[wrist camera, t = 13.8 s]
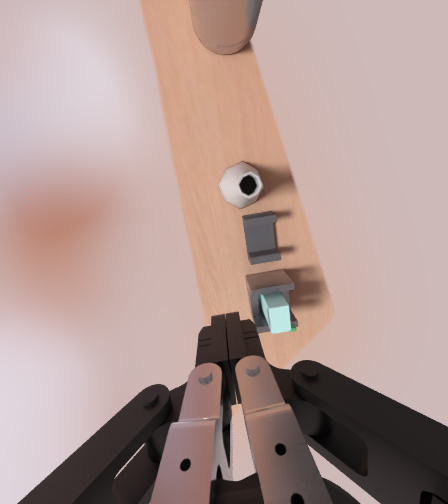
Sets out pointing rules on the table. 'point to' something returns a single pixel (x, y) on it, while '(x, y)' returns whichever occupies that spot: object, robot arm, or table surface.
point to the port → (268, 285)
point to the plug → (276, 312)
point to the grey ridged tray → (260, 237)
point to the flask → (241, 185)
